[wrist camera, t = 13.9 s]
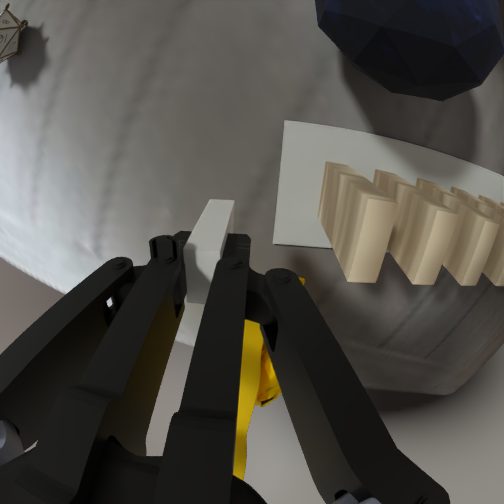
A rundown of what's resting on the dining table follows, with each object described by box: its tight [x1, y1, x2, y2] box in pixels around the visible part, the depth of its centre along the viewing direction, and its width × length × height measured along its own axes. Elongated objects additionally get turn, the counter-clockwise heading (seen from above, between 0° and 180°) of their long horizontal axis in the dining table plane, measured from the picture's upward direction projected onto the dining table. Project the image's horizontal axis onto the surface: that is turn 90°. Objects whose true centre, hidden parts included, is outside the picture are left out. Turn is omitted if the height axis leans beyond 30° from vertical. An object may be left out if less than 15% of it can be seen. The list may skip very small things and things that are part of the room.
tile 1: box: [318, 161, 399, 283], centre depth 20 cm, size 2×5×11 cm, turn 176°
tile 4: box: [450, 186, 504, 286], centre depth 20 cm, size 2×5×11 cm, turn 176°
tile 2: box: [373, 169, 459, 285], centre depth 20 cm, size 2×5×11 cm, turn 177°
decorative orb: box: [315, 0, 504, 101], centre depth 11 cm, size 14×15×15 cm
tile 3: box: [416, 178, 500, 286], centre depth 20 cm, size 2×5×11 cm, turn 176°
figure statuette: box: [233, 277, 305, 480], centre depth 23 cm, size 18×8×22 cm, turn 163°
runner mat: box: [273, 120, 504, 253], centre depth 25 cm, size 12×35×1 cm, turn 86°
